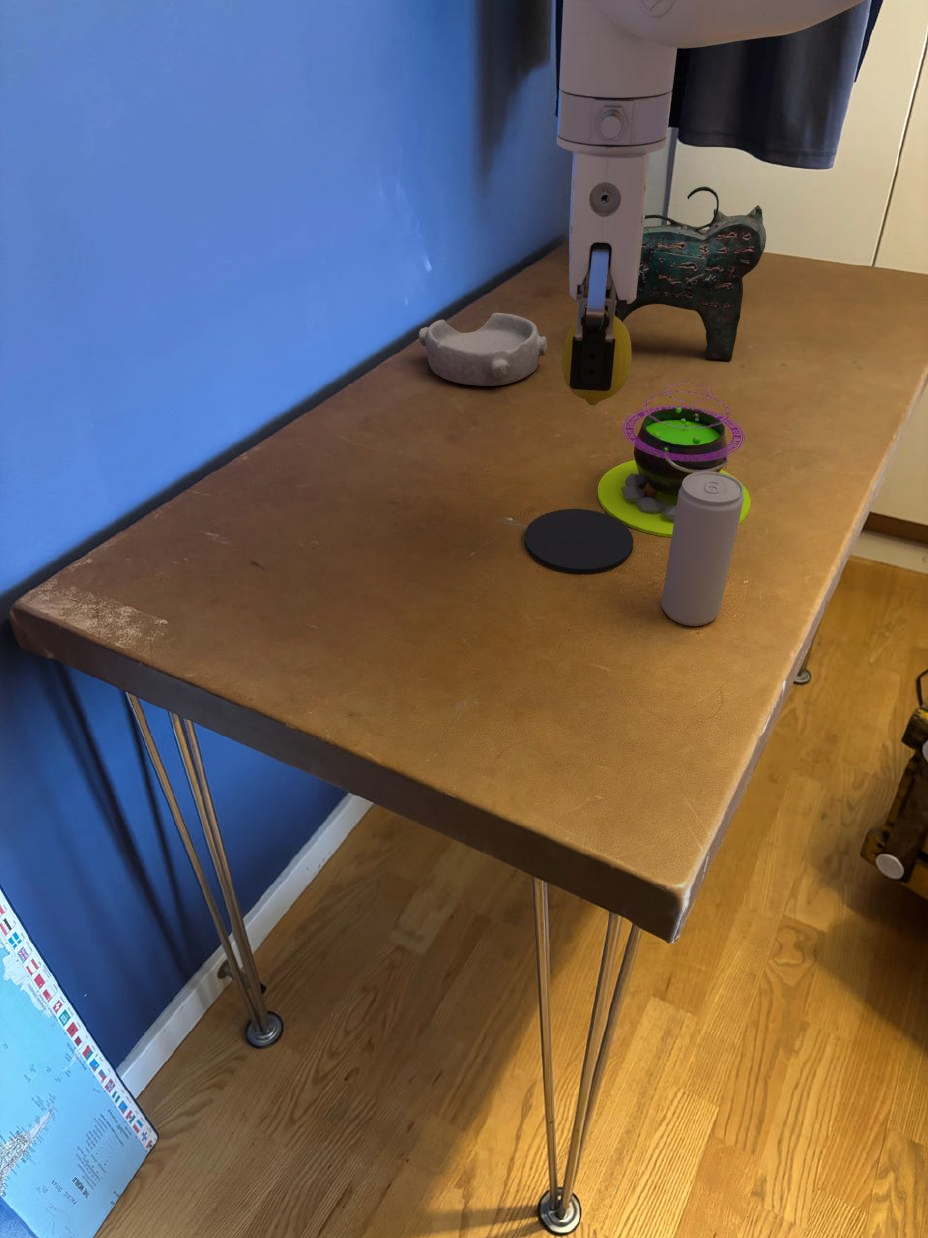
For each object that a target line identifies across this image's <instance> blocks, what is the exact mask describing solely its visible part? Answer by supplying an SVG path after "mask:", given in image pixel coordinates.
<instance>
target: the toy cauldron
mask: <svg viewBox="0 0 928 1238" xmlns="http://www.w3.org/2000/svg"><path fill="white" fill-rule="evenodd" d="M675 384H676V385H674V383H672V384H671V386H670V385H668V386H667V387H666V388H665V389H664V391H663V392H661V393H660V392H659V393H655V394H653V395H651V396H648V398H647V399H646V400H645V401H644V403H643V409H640V410H638V411H636V412H633V413H631V414H630V415H628V416H627V417H625V419H624V421H623V422H622V424H621V428H622V429H621V433H622V434H623V437H624V439H626V441H627V442H628V443H630V444H631V445H633V448H634V449H633V456H634V459H632V460H629V461H626V462H623V463H620V464H618V465H616V466H614V467H612V468H611V469H609V470H608V471H606V473H604V474H603V476H602V477H601V479H600V480H599V482H598V486H597V490H596V493H597V500H598V502H599V504H600V506H601V508H602V509H603V510H604V511H605V513H606V514H607V515H610V516H612V517H614V518H616V519H618V520H619V521H621V522H622V523H623V524H624V525H626V527H628V528H631V529H634V530H636V531H640V532H642V533H646V534H650V535H654V536H658V537H666V538H672V531H673V525H674V519H675V513H676V506H677V500H678V494H679V490H680V488H681V486H682V482H683V480H684V478H685V477H687V476H688V475H690V474H692V473H696V472H703V471H711V472H719V473H723V474H726V475H729V476H731V477H733V478H735V479H737V478H736V477H735V476H733V475H732V474H730V473H728V472H727V471H725V470H723V468H724V467H726V466H728V465H729V456H731V455H732V454H733V453H735V452H738V451H739V449H740V448H741V447H742V446H743V445H744V443H745V440H746V434H745V431H744V429H743V428H742V427H741V426H740V425H739V424H738V422H736V421H734V420H733V419H731V418H730V415H731V411H730V410H729V409H730V408H729V406H728V405H727V404H726V403H724V402H723V401H722V400H720V399H719V398H717V397H715V396H714V394H713V391H712V390H711V389H710V388H709V387H707V386H705V385H703V389H704V390H705V391H706V392H707V394H705V393H703V392H698V391H690V390H685V391H684V393H688V394H689V393H691V394H698V395H702V396H706V397H705V399H707V400H710V399H713V400H715V401H716V402H719V403H720V402H721V403H722V404H723V405H722V406H723V407H724V409H725V411H726V413H725V415H724V414H722V413H719V412H717V411H714V410H710V409H707V408H703V407H698V406H693V405H692V406H691V405H683V404H682V405H679V404H677V406H676V405H675V404H673V406H671V404H666V405H665V404H664V405H660V406H659V407H658V405H656V406H651V407H647V406H648V402H650V401H651V400H652V399H653V398H655V397H658V396H661V395H666V396H667V397H668V398H670V399H674V400H675V401H677V402H681V403H682V402H684V403H688V400H684V399H677V398H676V397H675V396H673V394H672V391H671V389H672V388H673V387H677V386H678V385H682V386H683V385H687V386H689V385H690V386H691V385H692V386H695V387H697V384H696V383H694V382H690V383H686V382H678V383H677V382H676V383H675ZM698 388H701V385H700V386H698ZM675 393H683V390H675ZM710 393H711V394H710ZM702 401H703V403H704V402H706V400H704V398H703V399H698V400H696V403H697V404H698V403H702ZM692 403H695V400H692ZM643 417H644V419H643V421H642V423H641V426H640V428H639V431H638V434H637V433H636V429H635V428H636V427H635V426H636V424H637V423H638V421H639V420H641V419H642V418H643ZM726 426H727V427H728V430H729V431H731V435H732V437H731V440H730V441H729V443H728V440H727V437H726ZM738 481H739V482H740V483H741V484H742V486H743V490H744V492H743V498H744V500H743V505H742V510H741V515H740V520H739V524H738V526H739V525H740V524H742V523H743V522H744V521H745V519H747V517H748V516H749V513H750V511H751V496H750V493H749V491H748V489H747V488H746V487H745V485H744V484H743V483H742V482H741V481H740V480H738Z"/></svg>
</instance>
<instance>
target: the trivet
mask: <svg viewBox="0 0 928 1238" xmlns="http://www.w3.org/2000/svg"><path fill="white" fill-rule="evenodd" d="M523 537H524V539H523V541H524V547H525V549H526V551H527V553H528V554H529V555H530V556H531V558H532V559H533V560H535V561H536V562H537V563H539V564H540V565H542V566H545V567H547V568H549V569H552V570H555V571H558V572H562V573H568V574H574V575H575V574H576V575H592V574H598V573H603V572H607V571H610V570H613V569H616V568H618V567H619V566H621V565H622V564H624V563H625V562H626V561H627V560H628V559H629V558H630V557H631V554H632V552H633V549H634V536H633V534H632V532H631V530H630V529H629V527H628V526H627V525H625V524H623V523H622V522H621V521H619V520H618V519H616V518H614V517H612V516H611V515H609V514H608V513H604V512H600V511H596V510H593V509H585V508H564V509H557V510H553V511H550V512H546V513H544V514H542V515H539V516H537V517H536V518H535V519H533V520H532V521H531V522H530V523H529V524H528V525H527V527H526V529H525V531H524V536H523Z"/></svg>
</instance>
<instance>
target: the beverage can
mask: <svg viewBox="0 0 928 1238" xmlns="http://www.w3.org/2000/svg"><path fill="white" fill-rule="evenodd" d="M733 477H734V476H733ZM733 477H731V476H729V475H726V474H723V473H719V472H711V471H703V472H696V473H692V474H690V475H688V476H687V477H685V478H684V480H683V482H682V486H681V488H680V490H679V494H678V500H677V506H676V513H675V519H674V525H673V531H672V537H670V538H671V539H670V544H669V551H668V558H667V565H666V571H665V577H664V583H663V590H662V597H661V607H662V610H663V612H664V613H665V614H666V615H667V616H668V617H669V619H671V620H673V621H674V622H676V623H678V624H681V625H684V626H689V627H699V626H704V625H707V624H709V623H710V622H712V621H714V620H716V618H717V617H718V616H719V615H720V613H721V608H722V603H723V599H724V593H725V589H726V584H727V580H728V575H729V572H730V571H729V570H730V566H731V561H732V556H733V551H734V548H735V543H736V538H737V533H738V529H739V525H740V524H739V520H740V515H741V510H742V505H743V500H744V498H743V492H744V490H743V486H744V485H743V486H742V484H743V483H742V482H741V481H740V480H739V479H737V478H736V477H735V478H736V479H735V478H733ZM739 481H740V482H741V483H742V484H741V483H740V482H739ZM738 524H739V525H738Z"/></svg>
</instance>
